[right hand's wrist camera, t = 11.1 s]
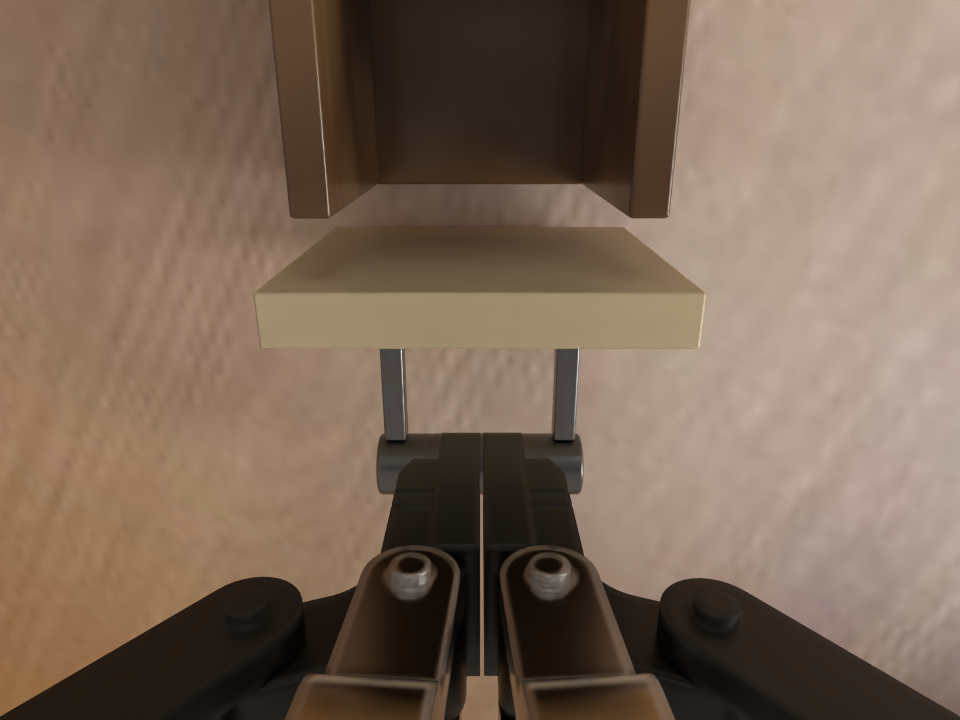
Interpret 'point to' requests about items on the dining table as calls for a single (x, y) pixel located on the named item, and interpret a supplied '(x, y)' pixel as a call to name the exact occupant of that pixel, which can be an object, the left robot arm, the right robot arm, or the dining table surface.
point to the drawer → (479, 160)
